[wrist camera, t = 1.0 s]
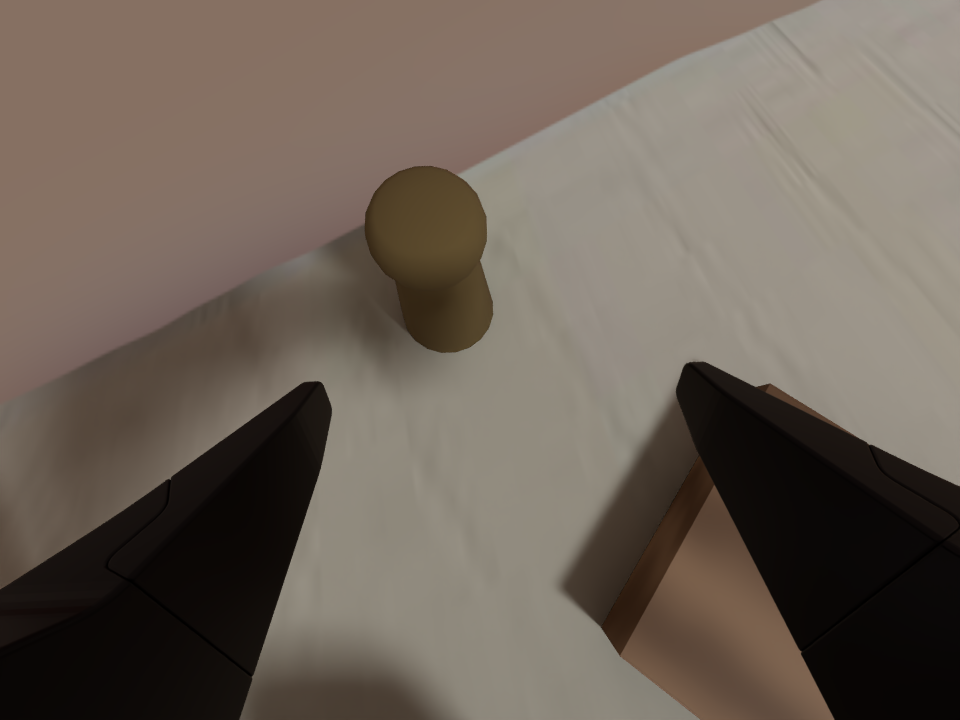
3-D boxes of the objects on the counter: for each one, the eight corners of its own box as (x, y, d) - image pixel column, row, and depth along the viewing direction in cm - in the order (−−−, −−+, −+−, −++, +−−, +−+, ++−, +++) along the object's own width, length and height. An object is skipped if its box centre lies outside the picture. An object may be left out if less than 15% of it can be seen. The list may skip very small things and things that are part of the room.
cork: (409, 360, 25) (350, 289, 14) (397, 276, 26) (335, 153, 15) (501, 344, 25) (512, 260, 14) (484, 261, 26) (482, 129, 15)
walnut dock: (927, 881, 18) (1012, 965, 15) (601, 627, 21) (620, 655, 18) (1032, 579, 21) (1121, 600, 18) (735, 392, 24) (770, 383, 21)
